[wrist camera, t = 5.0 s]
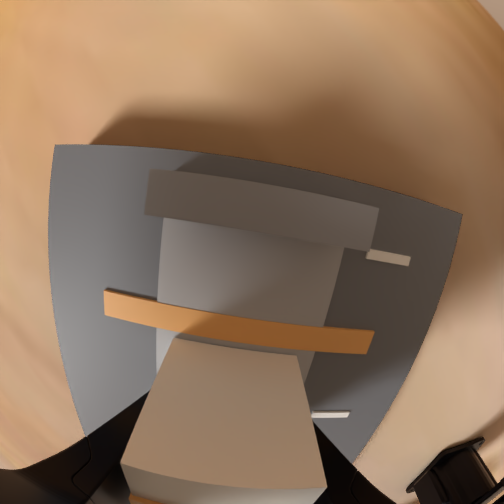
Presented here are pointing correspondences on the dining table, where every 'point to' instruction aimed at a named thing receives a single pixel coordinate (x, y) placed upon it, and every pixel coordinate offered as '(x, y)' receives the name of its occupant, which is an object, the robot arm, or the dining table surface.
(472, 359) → the dining table surface
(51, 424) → the dining table surface
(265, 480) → the fader tab
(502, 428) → the dining table surface
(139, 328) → the console plate
